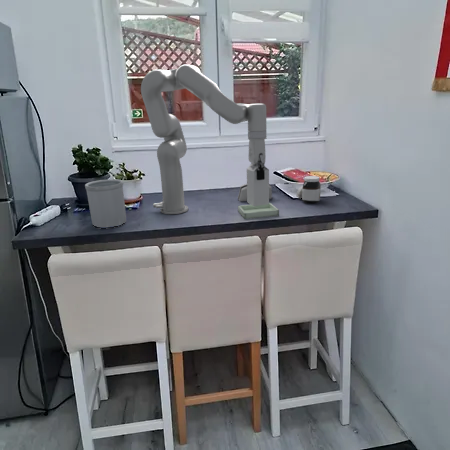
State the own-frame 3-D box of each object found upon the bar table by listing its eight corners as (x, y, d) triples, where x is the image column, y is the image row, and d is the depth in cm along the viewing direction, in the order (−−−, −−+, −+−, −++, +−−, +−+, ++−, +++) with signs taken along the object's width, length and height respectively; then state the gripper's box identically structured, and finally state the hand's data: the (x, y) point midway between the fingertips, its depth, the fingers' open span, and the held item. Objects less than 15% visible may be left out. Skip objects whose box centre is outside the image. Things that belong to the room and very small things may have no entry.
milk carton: (261, 200, 173) (261, 157, 167) (269, 204, 167) (269, 160, 160) (247, 202, 171) (246, 159, 164) (254, 206, 164) (253, 161, 158)
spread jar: (316, 205, 179) (317, 180, 175) (292, 203, 183) (293, 178, 180) (322, 198, 189) (323, 174, 185) (299, 196, 194) (300, 173, 190)
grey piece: (269, 196, 197) (271, 179, 191) (272, 201, 193) (274, 184, 187) (236, 198, 194) (237, 181, 188) (239, 204, 190) (240, 187, 184)
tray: (244, 219, 163) (244, 213, 162) (238, 211, 174) (237, 205, 174) (279, 215, 166) (279, 210, 165) (270, 208, 177) (270, 202, 176)
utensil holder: (89, 221, 168) (83, 181, 163) (124, 216, 174) (119, 177, 168) (93, 231, 155) (86, 188, 150) (130, 225, 161) (125, 183, 155)
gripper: (243, 133, 167) (244, 174, 172) (254, 138, 150) (254, 182, 156) (260, 132, 168) (260, 173, 174) (272, 136, 152) (272, 181, 158)
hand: (257, 177), depth 165 cm, fingers closed on milk carton, 7 cm apart
